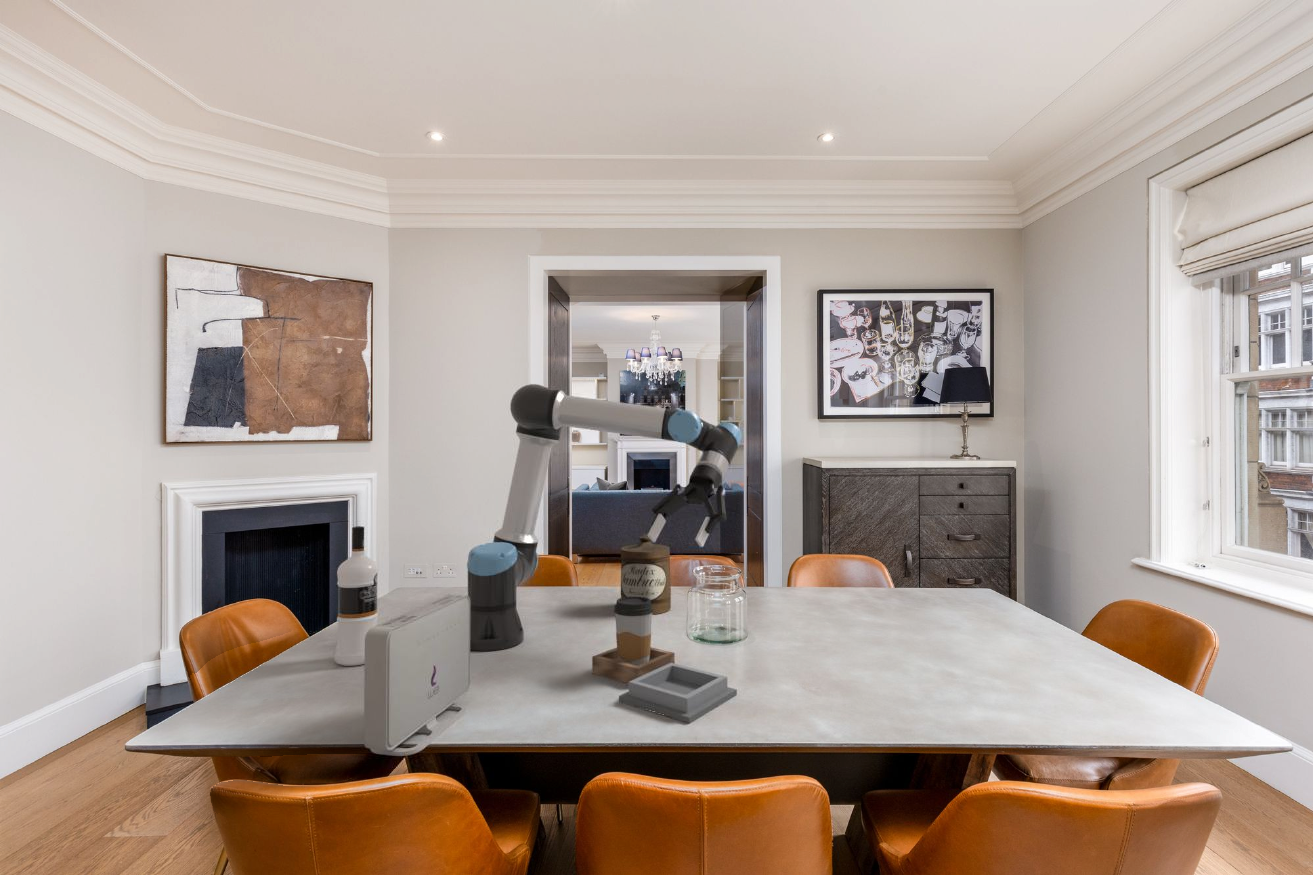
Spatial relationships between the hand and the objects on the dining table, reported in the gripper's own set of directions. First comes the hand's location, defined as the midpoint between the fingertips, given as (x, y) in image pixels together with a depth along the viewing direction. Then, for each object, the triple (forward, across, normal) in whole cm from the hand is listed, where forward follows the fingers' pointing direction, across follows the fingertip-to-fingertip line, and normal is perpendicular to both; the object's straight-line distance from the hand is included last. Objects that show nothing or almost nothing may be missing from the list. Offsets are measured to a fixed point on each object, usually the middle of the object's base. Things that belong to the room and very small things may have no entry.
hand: (674, 541), depth 146 cm
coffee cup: (+29, +1, -8) cm, 30 cm away
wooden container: (-2, +32, -39) cm, 50 cm away
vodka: (+51, +55, +15) cm, 76 cm away
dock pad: (+33, -15, -4) cm, 36 cm away
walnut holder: (+28, +1, -8) cm, 30 cm away
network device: (+59, +12, +22) cm, 64 cm away
